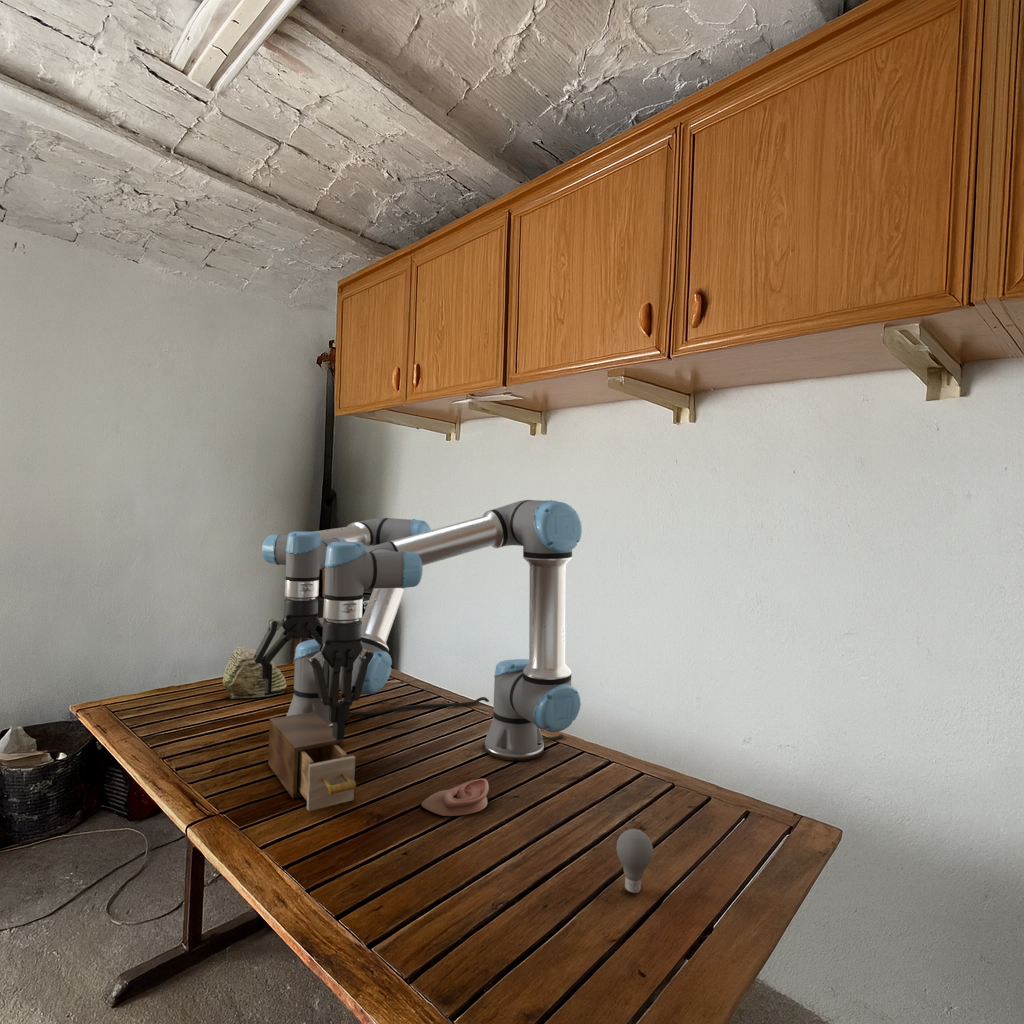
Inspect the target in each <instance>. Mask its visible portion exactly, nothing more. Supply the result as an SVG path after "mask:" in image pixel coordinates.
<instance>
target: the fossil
mask: <svg viewBox="0 0 1024 1024" xmlns="http://www.w3.org/2000/svg"><path fill="white" fill-rule="evenodd" d="M257 649H258V648H251V647H247V646H246V647H245V646H238V647H237V648H236V649H235V650H233V651H232V653H231V656H230V657H229V659H228V660H227V663H226V666H225V668H224V671H223V675H222V676H223V677H222V685H223V687H224V688H225V690H226V691H228V693H229V698H230V699H250V698H264V697H271V696H275V695H281V694H284V693H285V691H286V689H287V687H288V686H287V680H286V678H285V676H284V674H283V673H282V672H281V669H279V668H278V667H277V665H276V663H275V662H274V660H273V659H272V660H271V662H270V663H271V664H272V689H271V694H267V693H266V692H265V679H263V678H262V677H261V664H260V663H256V662H255V661H254V660H253V656H254V655H255V653H256V651H257ZM266 653H267V652H265V654H266ZM265 654H264V655H265Z"/></svg>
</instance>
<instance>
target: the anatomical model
mask: <svg viewBox="0 0 1024 1024" xmlns="http://www.w3.org/2000/svg"><path fill="white" fill-rule="evenodd" d="M489 787H490V785H489V782H488V780H487V779H486V778H477V779H473V780H469V781H467V782H464V783H461V784H459V785H456V786H454V787H452V788H449V789H445V790H439V791H437V792H434V793H432V794H430V795H429V796H427V797H426V798H425V799H424V800H423V801H422V802H421V807H422V808H423V809H425V810H427V811H429V812H431V813H432V814H436V815H438V816H443V817H455V816H456V817H457V816H466V815H470V814H474V813H477V812H481V811H482V810H484V809H485V808H486V807H487V806H488V797H487V795H488V794H489V791H490V790H489Z"/></svg>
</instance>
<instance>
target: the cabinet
mask: <svg viewBox="0 0 1024 1024" xmlns="http://www.w3.org/2000/svg"><path fill="white" fill-rule="evenodd" d="M268 727H269V730H268V755H267V757H268V758H267V764H268V767H270V769H271V771H272V772H273V773H274V774H275V776H276V778H277V779H278V780H279V781H280V783H281V785H282V786H283V787H284V788H285V790H286V791H287V793H288V794H289V796H290V797H291V798H292V799H297V798H302V797H303V796H302V794H301V793H300V792H299V790H298V789H297V775H298V751H301V750H306V749H312V748H317V747H322V746H327V745H333V744H337V745H338V746H339V747H340V748H341V749H342V750H343V751H344V741H345V740H344V739H345V738H344V739H341V740H336V739H335V738H334V737H333V736H332V728H331V727H330V726H329V725H328V724H327V723H326V722H325V721H324V720H323V719H322V718H321V717H320V716H319V715H317V714H316V713H315V712H309V713H303V714H297V715H290V716H286V715H285V716H279V717H272V718H269V726H268Z"/></svg>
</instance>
